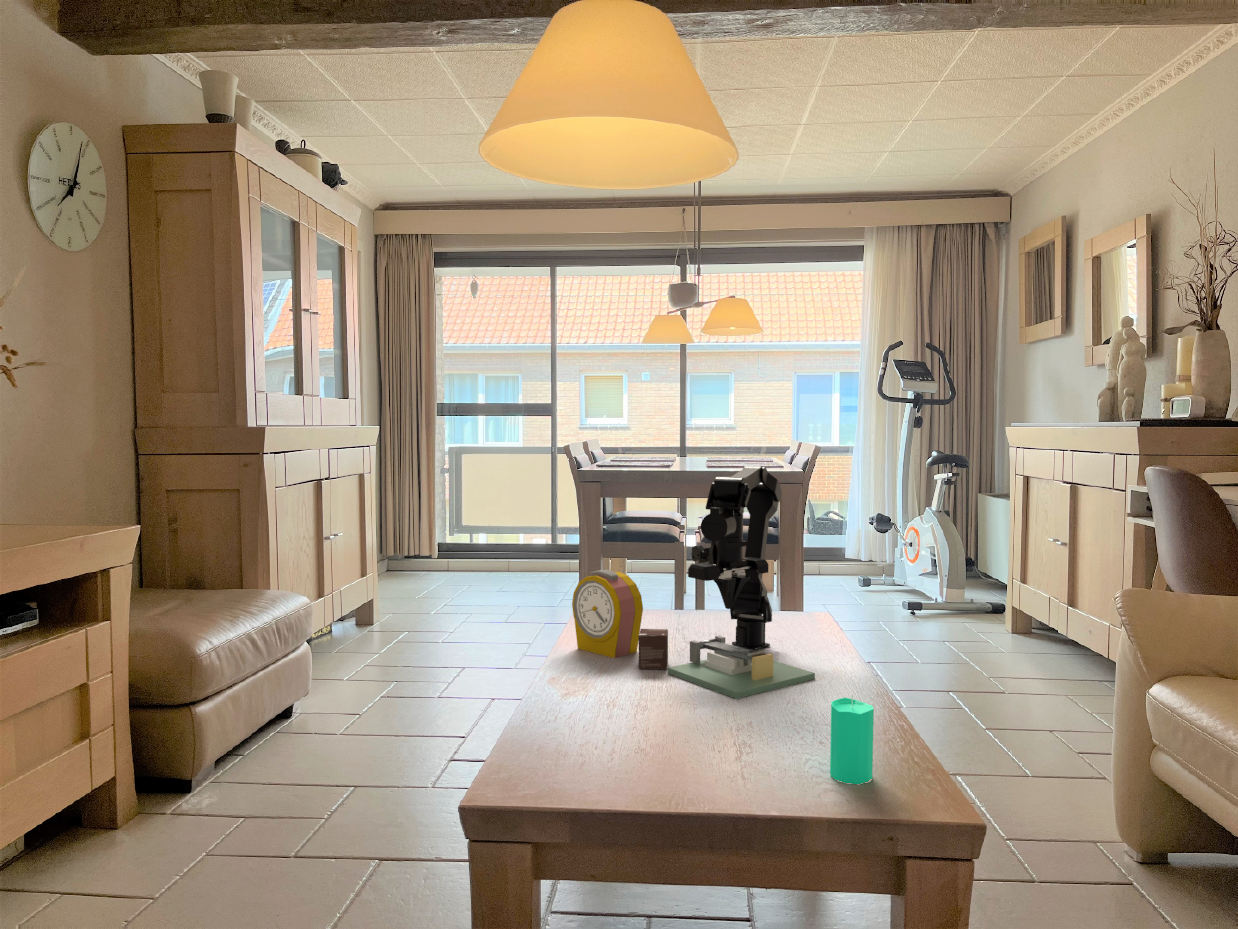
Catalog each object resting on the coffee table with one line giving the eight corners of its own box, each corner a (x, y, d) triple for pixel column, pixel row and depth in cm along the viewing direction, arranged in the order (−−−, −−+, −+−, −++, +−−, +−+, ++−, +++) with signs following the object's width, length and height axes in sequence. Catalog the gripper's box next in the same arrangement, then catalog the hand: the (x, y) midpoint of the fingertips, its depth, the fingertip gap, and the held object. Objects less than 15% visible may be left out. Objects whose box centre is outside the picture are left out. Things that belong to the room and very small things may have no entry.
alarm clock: (570, 647, 192) (570, 568, 191) (595, 641, 198) (595, 564, 197) (617, 660, 182) (618, 576, 181) (642, 653, 188) (643, 571, 187)
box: (668, 662, 180) (668, 629, 180) (667, 670, 174) (667, 636, 174) (640, 661, 181) (640, 628, 181) (638, 669, 175) (638, 635, 175)
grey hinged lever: (713, 645, 181) (713, 636, 181) (767, 659, 168) (767, 649, 168) (696, 648, 178) (696, 639, 178) (749, 663, 165) (749, 653, 165)
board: (741, 655, 186) (741, 631, 186) (814, 678, 169) (815, 652, 169) (664, 672, 173) (665, 645, 173) (736, 698, 156) (736, 669, 156)
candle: (823, 768, 124) (825, 688, 124) (863, 767, 125) (864, 688, 124) (837, 785, 118) (839, 701, 118) (879, 784, 119) (880, 701, 118)
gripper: (734, 529, 190) (733, 597, 191) (671, 535, 179) (670, 607, 180) (770, 534, 181) (769, 606, 182) (706, 540, 170) (705, 616, 171)
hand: (728, 608), depth 179 cm, fingers closed
